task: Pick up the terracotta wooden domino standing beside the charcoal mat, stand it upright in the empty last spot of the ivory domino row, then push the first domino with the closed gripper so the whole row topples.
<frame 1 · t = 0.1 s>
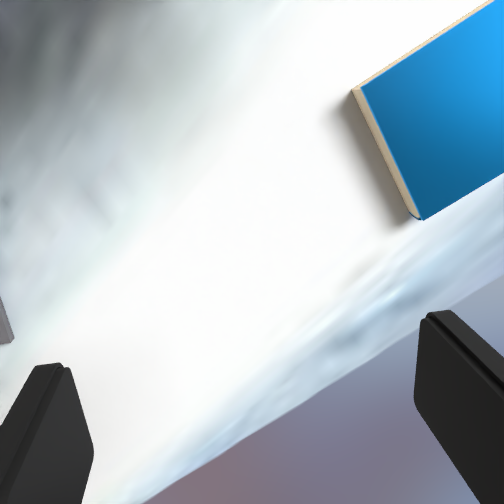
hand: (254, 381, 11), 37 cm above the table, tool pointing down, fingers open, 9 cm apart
book: (478, 92, 47), on the table
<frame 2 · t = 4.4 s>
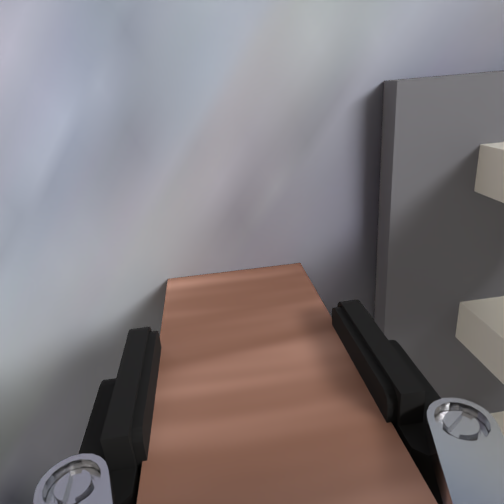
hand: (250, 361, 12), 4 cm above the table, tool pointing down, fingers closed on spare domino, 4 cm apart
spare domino: (236, 289, 16), on the table, touching gripper
mat: (481, 409, 20), on the table
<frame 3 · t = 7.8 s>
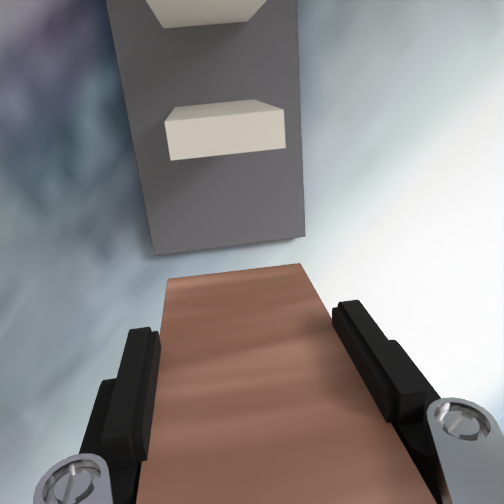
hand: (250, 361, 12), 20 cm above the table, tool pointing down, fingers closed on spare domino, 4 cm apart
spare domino: (236, 289, 16), point 15 cm above the table, touching gripper
domino 4: (216, 116, 27), point 1 cm above the table, touching mat
mat: (203, 12, 26), on the table
domino 3: (204, 9, 25), point 1 cm above the table, touching mat
when the fingers open (6 cm above the table, at t = 11.5 s): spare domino stays where it is, resting on mat.
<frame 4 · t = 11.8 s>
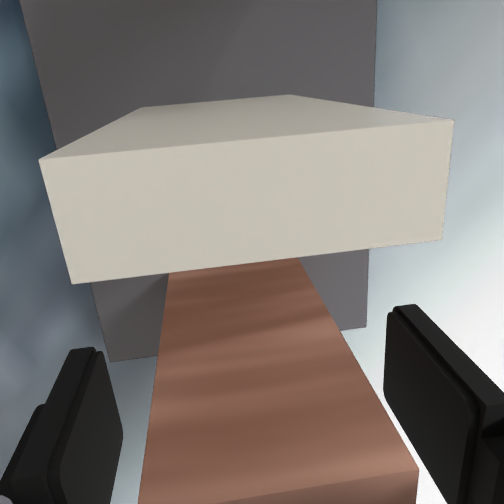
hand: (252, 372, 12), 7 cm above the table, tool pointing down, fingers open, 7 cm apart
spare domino: (235, 281, 17), point 1 cm above the table, touching mat
domino 4: (219, 125, 15), point 1 cm above the table, touching mat
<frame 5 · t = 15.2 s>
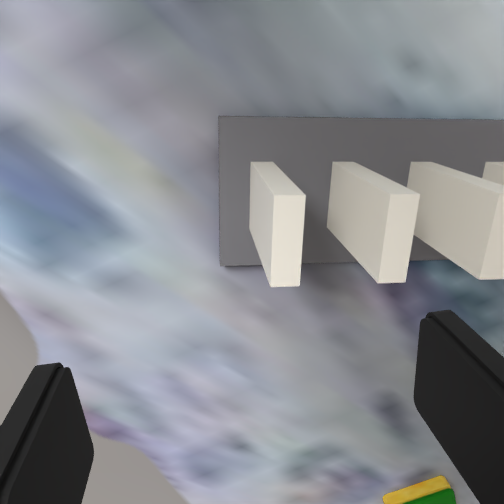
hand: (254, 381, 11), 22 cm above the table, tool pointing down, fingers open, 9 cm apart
domino 2: (339, 195, 32), point 1 cm above the table, touching mat
domino 1: (260, 196, 31), point 1 cm above the table, touching mat
domino 4: (488, 193, 33), point 1 cm above the table, touching mat
mat: (409, 191, 33), on the table
domino 3: (415, 194, 32), point 1 cm above the table, touching mat
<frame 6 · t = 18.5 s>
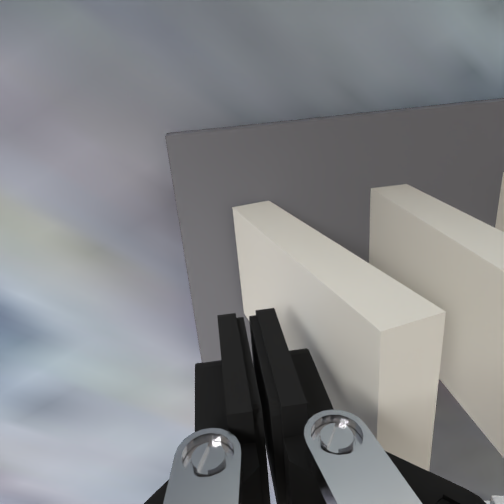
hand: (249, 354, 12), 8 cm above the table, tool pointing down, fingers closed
domino 2: (386, 240, 19), point 1 cm above the table, touching mat
domino 1: (255, 259, 18), point 1 cm above the table, tilted 13°, touching mat
mat: (497, 217, 20), on the table
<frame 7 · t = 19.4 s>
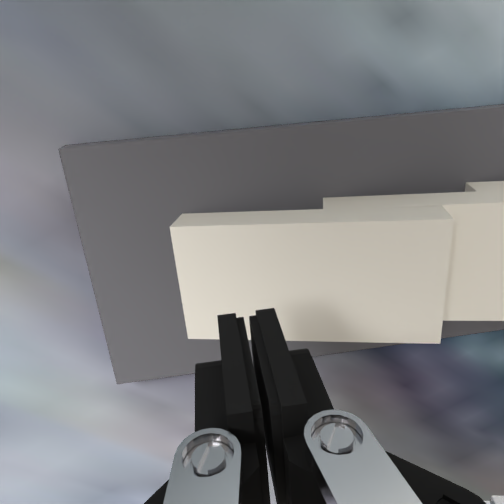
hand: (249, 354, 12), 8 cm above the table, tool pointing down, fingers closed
domino 2: (324, 259, 18), point 2 cm above the table, tilted 75°, touching domino 1, domino 3, mat
domino 1: (185, 277, 18), point 2 cm above the table, tilted 74°, touching domino 2, mat
mat: (418, 232, 20), on the table
domino 3: (464, 242, 19), point 2 cm above the table, tilted 74°, touching domino 2, domino 4, mat
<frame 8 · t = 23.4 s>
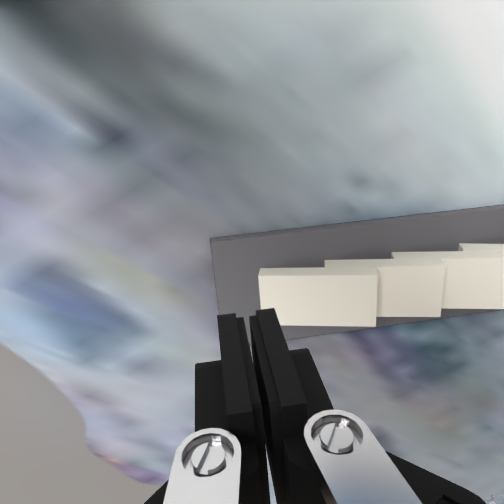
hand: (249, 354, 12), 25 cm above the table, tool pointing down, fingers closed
domino 2: (325, 288, 39), point 2 cm above the table, tilted 75°, touching domino 1, domino 3, mat
domino 1: (261, 296, 38), point 2 cm above the table, tilted 74°, touching domino 2, mat
domino 4: (457, 271, 40), point 2 cm above the table, tilted 71°, touching domino 3, mat, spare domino
mat: (371, 273, 41), on the table
domino 3: (391, 280, 39), point 2 cm above the table, tilted 74°, touching domino 2, domino 4, mat
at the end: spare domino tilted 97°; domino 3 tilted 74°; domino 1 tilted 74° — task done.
